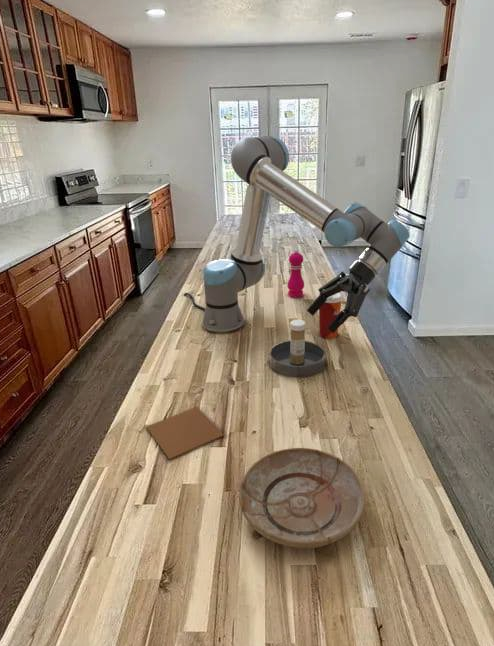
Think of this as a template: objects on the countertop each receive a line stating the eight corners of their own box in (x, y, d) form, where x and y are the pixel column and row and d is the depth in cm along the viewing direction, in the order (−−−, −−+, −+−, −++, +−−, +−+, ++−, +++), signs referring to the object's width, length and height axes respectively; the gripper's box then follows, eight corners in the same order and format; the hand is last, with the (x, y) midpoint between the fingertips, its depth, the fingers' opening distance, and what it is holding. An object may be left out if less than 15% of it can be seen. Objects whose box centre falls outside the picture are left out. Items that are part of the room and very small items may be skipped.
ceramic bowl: (244, 464, 95) (243, 446, 93) (352, 465, 94) (354, 447, 92) (235, 561, 74) (233, 541, 72) (374, 563, 73) (377, 542, 71)
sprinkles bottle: (303, 357, 137) (304, 318, 131) (305, 365, 133) (306, 325, 127) (289, 358, 137) (289, 319, 131) (290, 365, 133) (290, 325, 127)
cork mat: (146, 428, 107) (146, 426, 107) (197, 408, 114) (197, 406, 114) (169, 460, 97) (169, 458, 97) (224, 436, 104) (223, 434, 104)
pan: (261, 355, 140) (261, 345, 138) (310, 346, 145) (310, 336, 143) (281, 381, 125) (281, 371, 124) (334, 370, 130) (335, 360, 129)
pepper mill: (307, 293, 189) (308, 248, 180) (299, 299, 183) (299, 252, 174) (292, 291, 192) (292, 246, 183) (284, 296, 187) (284, 250, 178)
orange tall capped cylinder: (339, 340, 148) (342, 299, 141) (315, 339, 149) (316, 298, 143) (340, 330, 155) (343, 290, 148) (317, 328, 156) (319, 289, 150)
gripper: (338, 249, 138) (294, 300, 140) (384, 271, 117) (331, 331, 119) (352, 263, 142) (309, 313, 144) (398, 287, 121) (347, 345, 123)
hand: (319, 321), depth 131 cm, fingers open, 13 cm apart
